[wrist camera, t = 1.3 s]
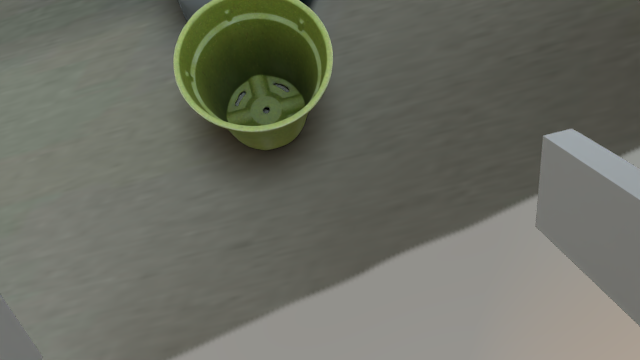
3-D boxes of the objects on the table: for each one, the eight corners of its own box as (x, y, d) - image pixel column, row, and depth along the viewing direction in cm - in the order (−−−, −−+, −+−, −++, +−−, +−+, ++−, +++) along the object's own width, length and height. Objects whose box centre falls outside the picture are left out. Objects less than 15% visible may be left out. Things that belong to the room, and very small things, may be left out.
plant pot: (294, 194, 35) (289, 158, 27) (181, 140, 36) (143, 89, 28) (347, 89, 38) (358, 25, 29) (240, 40, 38) (221, -35, 30)
